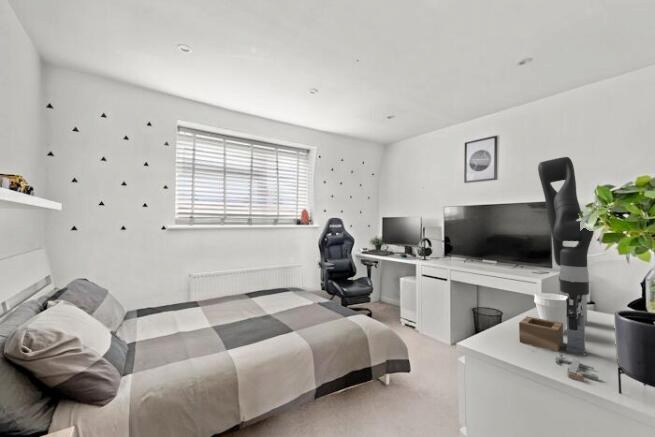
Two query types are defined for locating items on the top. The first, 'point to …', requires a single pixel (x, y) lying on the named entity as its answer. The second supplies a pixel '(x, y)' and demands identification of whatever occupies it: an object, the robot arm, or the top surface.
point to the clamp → (576, 369)
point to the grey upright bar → (576, 337)
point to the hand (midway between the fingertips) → (575, 326)
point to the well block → (541, 333)
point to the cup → (552, 307)
